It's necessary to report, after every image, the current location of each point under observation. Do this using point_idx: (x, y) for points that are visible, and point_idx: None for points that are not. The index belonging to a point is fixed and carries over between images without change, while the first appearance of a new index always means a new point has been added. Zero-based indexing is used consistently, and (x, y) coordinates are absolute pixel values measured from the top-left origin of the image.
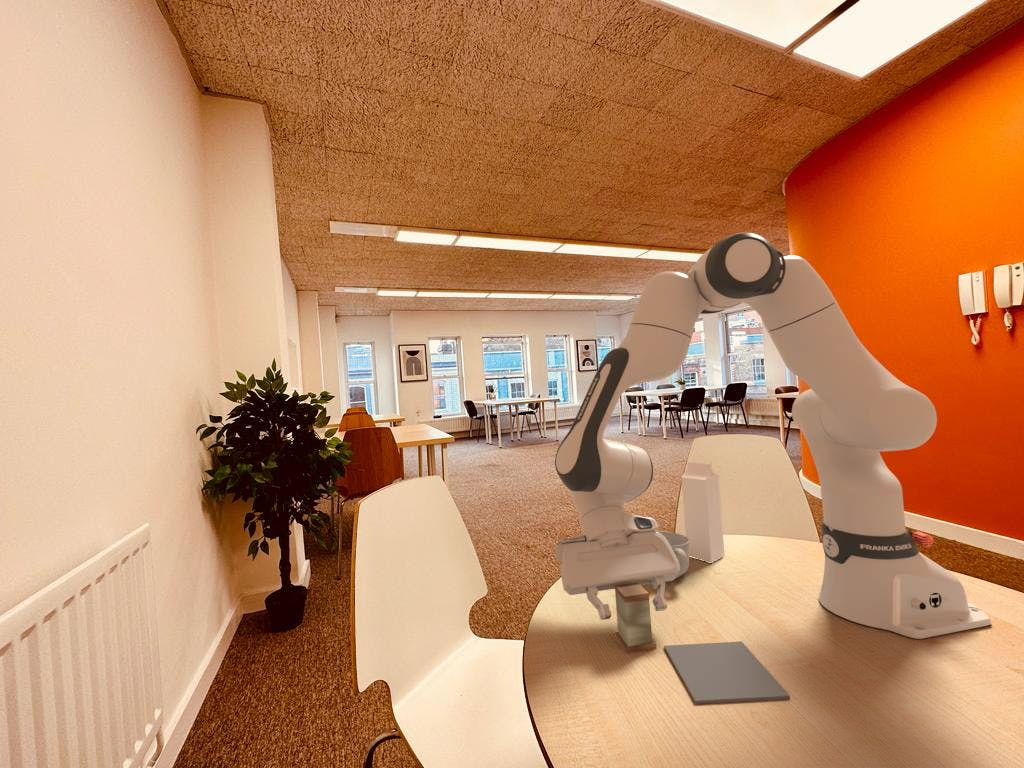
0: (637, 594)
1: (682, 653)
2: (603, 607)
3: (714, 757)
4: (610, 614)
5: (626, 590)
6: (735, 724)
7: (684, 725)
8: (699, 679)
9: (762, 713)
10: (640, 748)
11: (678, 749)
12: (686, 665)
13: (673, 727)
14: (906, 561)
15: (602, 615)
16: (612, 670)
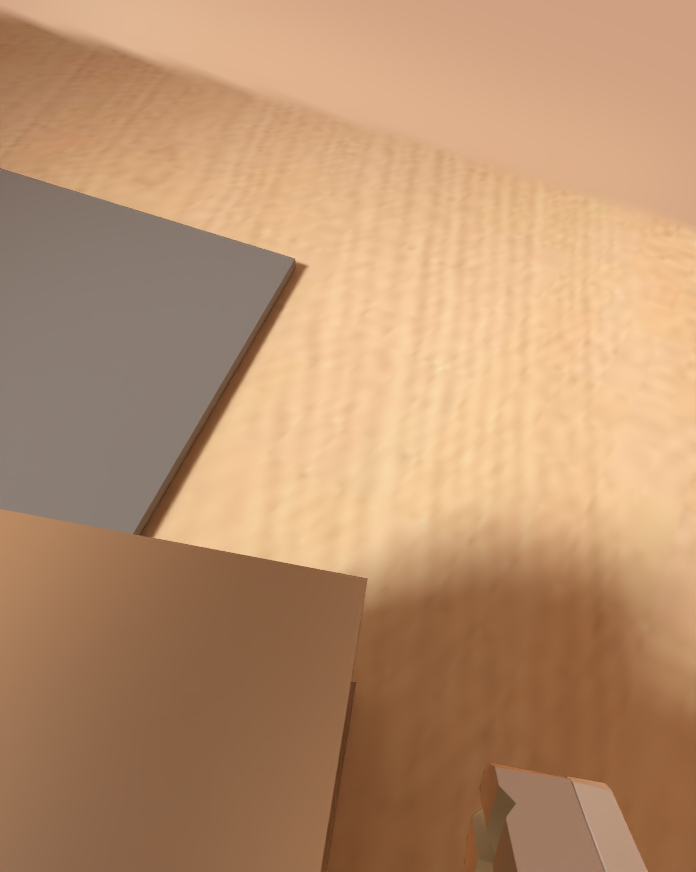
0: (139, 549)
1: (57, 503)
2: (596, 853)
3: (402, 142)
4: (500, 767)
5: (197, 773)
6: (248, 177)
7: (404, 228)
8: (173, 327)
9: (125, 171)
10: (592, 223)
11: (481, 185)
12: (138, 413)
13: (445, 235)
14: None
15: (606, 788)
16: (525, 579)
